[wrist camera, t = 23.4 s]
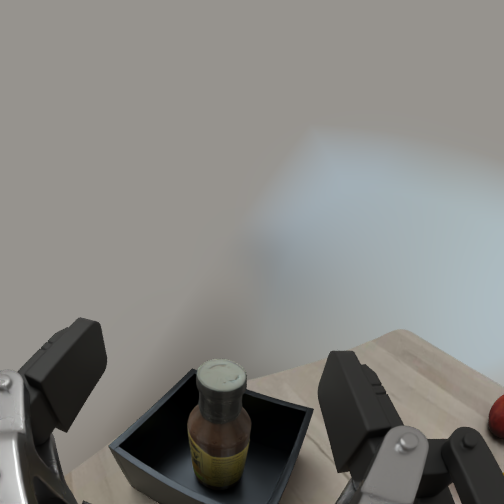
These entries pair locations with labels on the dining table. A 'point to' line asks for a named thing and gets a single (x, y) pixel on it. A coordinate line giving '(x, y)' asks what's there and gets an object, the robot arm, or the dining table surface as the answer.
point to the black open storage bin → (179, 456)
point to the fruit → (497, 418)
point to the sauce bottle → (219, 425)
